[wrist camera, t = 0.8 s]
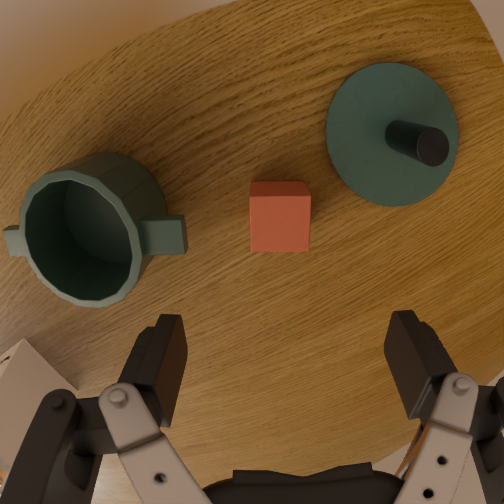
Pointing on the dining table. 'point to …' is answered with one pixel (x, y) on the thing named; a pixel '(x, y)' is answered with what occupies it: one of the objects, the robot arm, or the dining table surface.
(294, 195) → the block
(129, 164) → the pot
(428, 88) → the lid
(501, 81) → the dining table surface
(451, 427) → the robot arm
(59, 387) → the grater
